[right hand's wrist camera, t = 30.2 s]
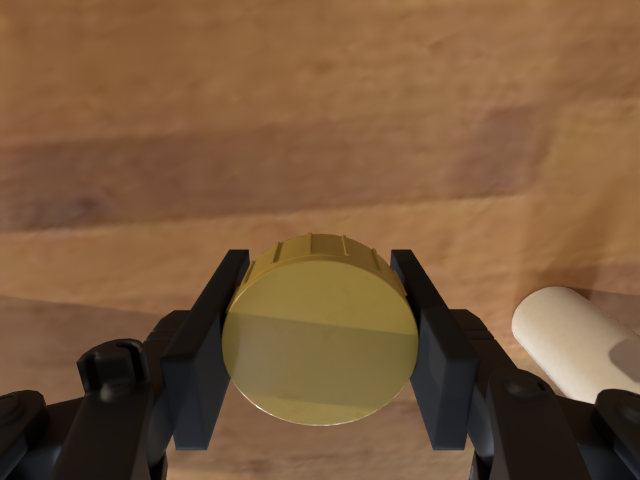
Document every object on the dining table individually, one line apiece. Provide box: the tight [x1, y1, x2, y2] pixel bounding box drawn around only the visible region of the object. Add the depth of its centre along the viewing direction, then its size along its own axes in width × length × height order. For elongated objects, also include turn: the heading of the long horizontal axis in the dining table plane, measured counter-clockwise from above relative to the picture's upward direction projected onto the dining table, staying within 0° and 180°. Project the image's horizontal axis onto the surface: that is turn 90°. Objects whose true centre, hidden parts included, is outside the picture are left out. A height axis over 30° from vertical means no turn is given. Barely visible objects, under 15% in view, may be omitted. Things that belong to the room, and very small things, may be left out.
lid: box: [221, 233, 419, 426], centre depth 11 cm, size 6×6×2 cm
